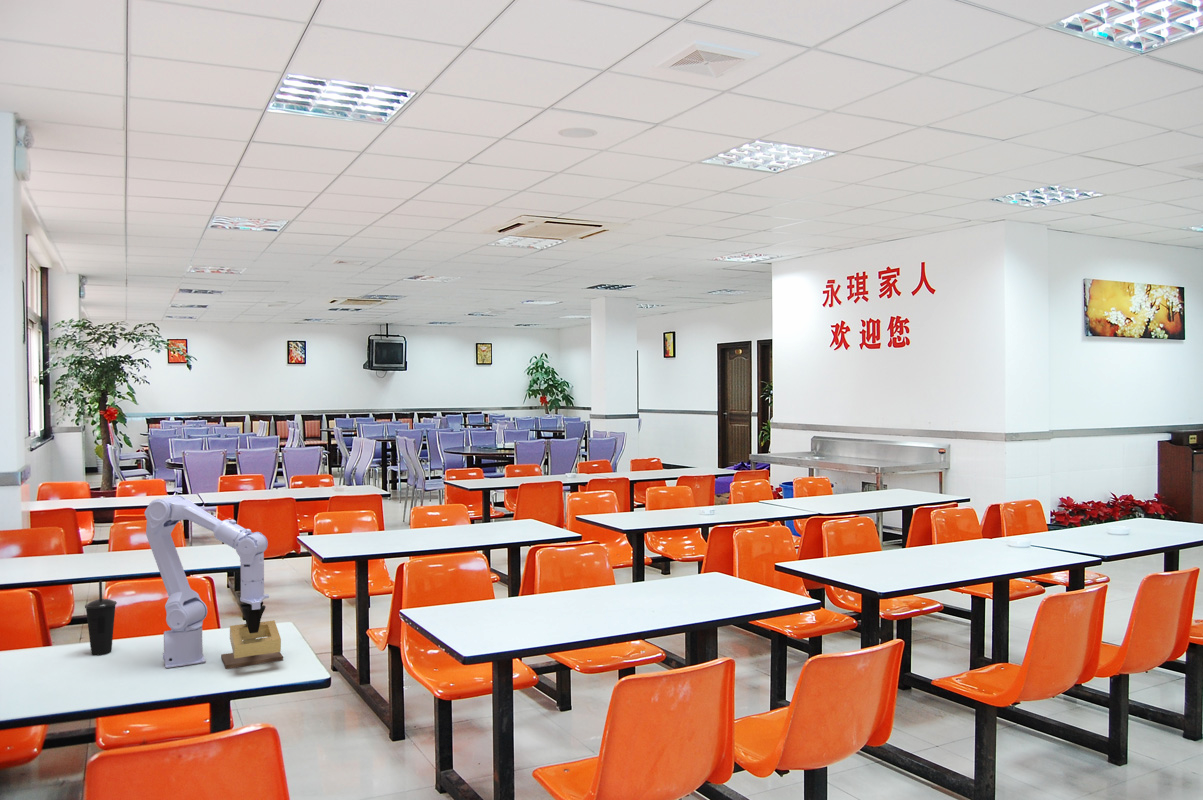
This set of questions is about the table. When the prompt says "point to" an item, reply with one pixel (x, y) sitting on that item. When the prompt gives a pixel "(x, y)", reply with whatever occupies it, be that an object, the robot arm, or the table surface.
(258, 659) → the board
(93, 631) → the drinking cup
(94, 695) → the table surface
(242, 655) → the tan slotted block
